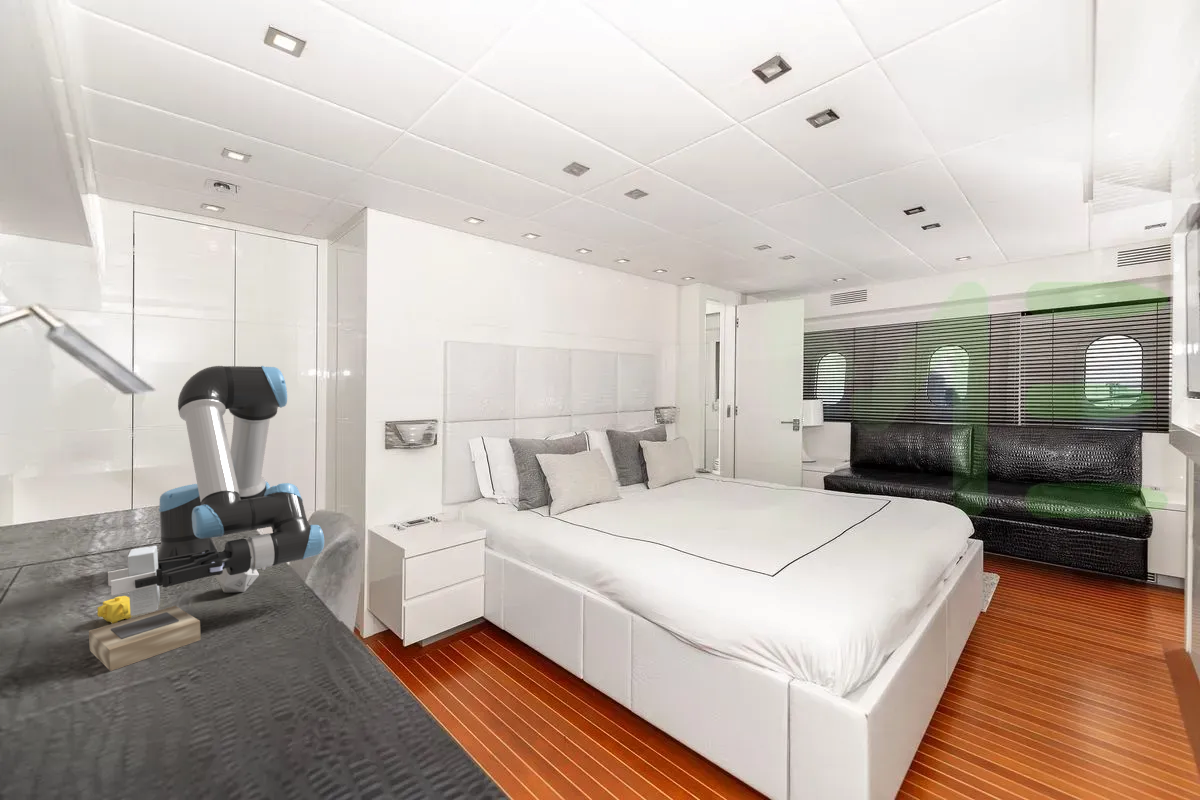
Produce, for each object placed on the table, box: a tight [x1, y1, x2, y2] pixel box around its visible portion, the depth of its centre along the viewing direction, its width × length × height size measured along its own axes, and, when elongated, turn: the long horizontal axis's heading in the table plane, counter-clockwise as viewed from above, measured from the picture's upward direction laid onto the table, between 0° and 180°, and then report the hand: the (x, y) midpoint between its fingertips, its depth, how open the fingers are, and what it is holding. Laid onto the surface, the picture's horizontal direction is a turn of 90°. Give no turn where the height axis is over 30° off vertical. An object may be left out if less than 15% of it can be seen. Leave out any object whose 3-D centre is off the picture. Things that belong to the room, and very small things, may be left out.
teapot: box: [96, 595, 132, 624], centre depth 119 cm, size 8×6×5 cm
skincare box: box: [127, 545, 161, 617], centre depth 106 cm, size 6×4×12 cm
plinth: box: [88, 605, 202, 672], centre depth 107 cm, size 14×14×4 cm
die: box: [214, 568, 260, 593], centre depth 135 cm, size 8×9×10 cm
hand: (110, 583), depth 103 cm, fingers closed on skincare box, 6 cm apart
